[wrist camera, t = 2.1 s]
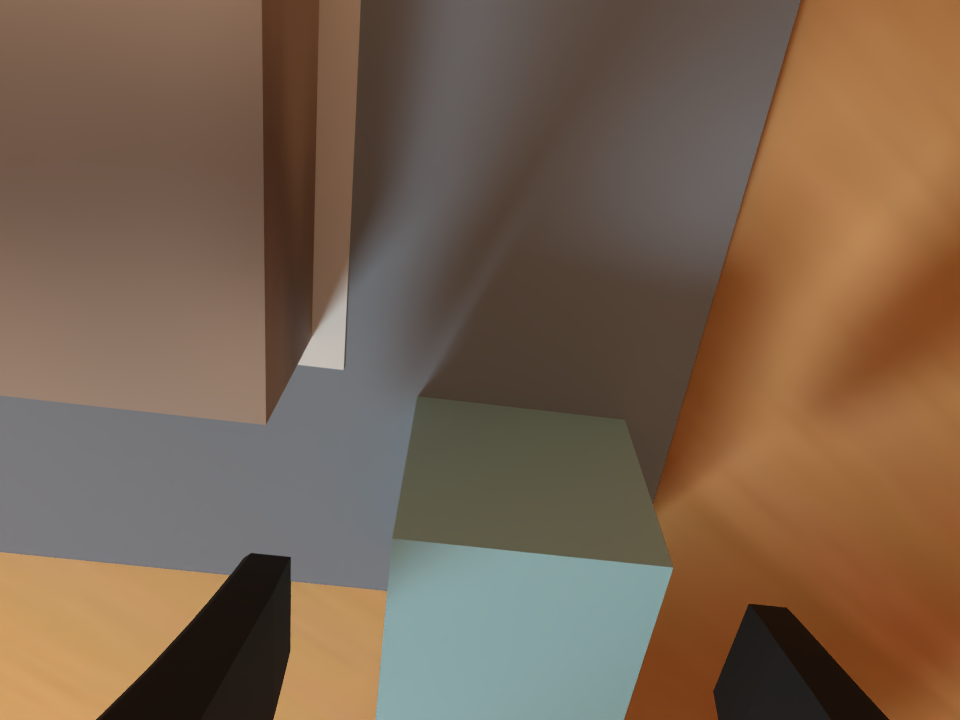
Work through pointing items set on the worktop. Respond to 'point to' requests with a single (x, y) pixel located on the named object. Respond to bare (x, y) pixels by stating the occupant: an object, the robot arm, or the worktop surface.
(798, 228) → the worktop surface
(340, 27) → the build mat
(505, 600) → the teal cube
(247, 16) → the walnut base block
